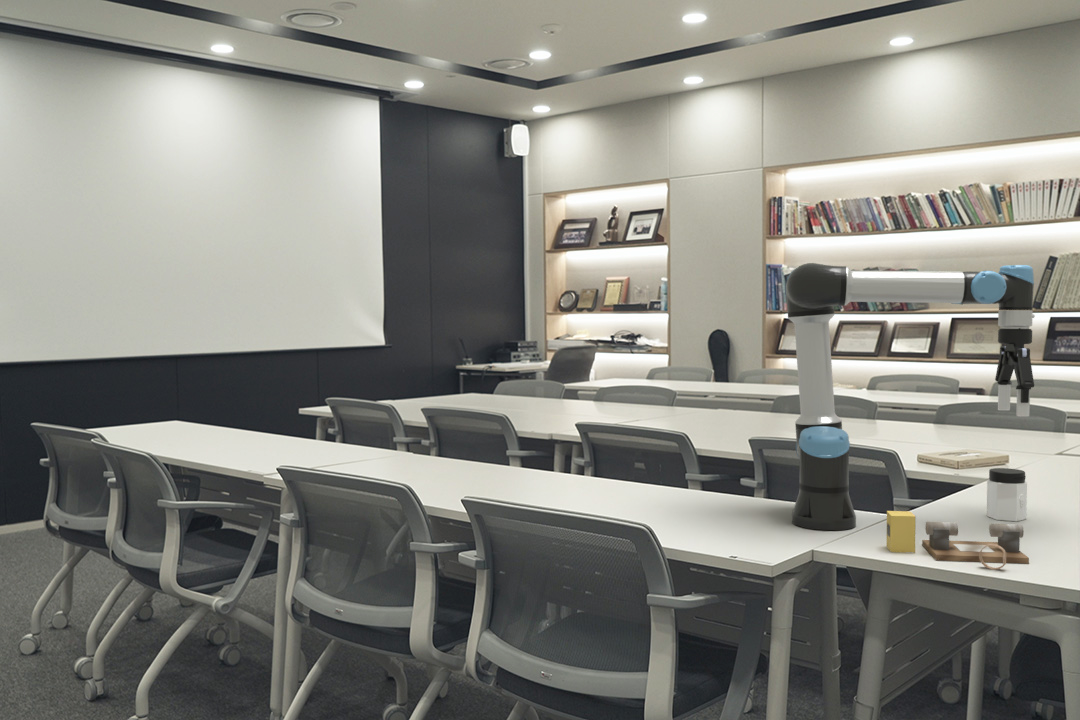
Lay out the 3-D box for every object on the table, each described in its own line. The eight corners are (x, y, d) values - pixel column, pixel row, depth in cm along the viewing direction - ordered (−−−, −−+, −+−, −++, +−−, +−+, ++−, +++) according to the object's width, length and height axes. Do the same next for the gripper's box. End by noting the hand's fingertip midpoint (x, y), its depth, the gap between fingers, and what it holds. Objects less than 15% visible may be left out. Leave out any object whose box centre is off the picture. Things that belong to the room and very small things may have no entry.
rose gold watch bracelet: (1004, 572, 185) (1004, 547, 184) (978, 568, 187) (978, 544, 187) (1006, 569, 187) (1006, 544, 187) (980, 565, 189) (980, 541, 189)
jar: (1012, 523, 227) (1013, 474, 226) (981, 517, 233) (981, 470, 233) (1032, 518, 231) (1033, 471, 231) (1000, 512, 238) (1001, 466, 238)
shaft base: (934, 560, 194) (934, 528, 193) (919, 545, 206) (920, 515, 206) (1031, 563, 190) (1032, 531, 190) (1010, 547, 203) (1011, 517, 203)
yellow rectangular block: (890, 552, 201) (890, 515, 200) (885, 546, 206) (886, 510, 205) (915, 552, 200) (916, 516, 199) (910, 547, 205) (911, 511, 204)
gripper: (1051, 328, 215) (1048, 419, 216) (1014, 327, 240) (1011, 408, 241) (1016, 328, 216) (1014, 418, 217) (983, 327, 241) (981, 407, 242)
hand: (1013, 413), depth 229 cm, fingers open, 13 cm apart
